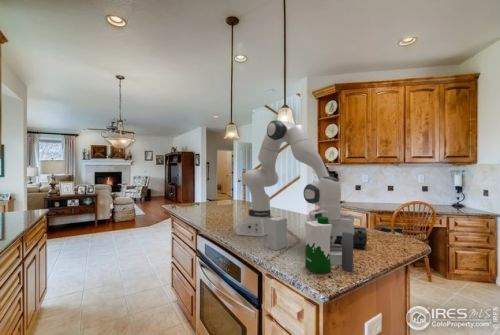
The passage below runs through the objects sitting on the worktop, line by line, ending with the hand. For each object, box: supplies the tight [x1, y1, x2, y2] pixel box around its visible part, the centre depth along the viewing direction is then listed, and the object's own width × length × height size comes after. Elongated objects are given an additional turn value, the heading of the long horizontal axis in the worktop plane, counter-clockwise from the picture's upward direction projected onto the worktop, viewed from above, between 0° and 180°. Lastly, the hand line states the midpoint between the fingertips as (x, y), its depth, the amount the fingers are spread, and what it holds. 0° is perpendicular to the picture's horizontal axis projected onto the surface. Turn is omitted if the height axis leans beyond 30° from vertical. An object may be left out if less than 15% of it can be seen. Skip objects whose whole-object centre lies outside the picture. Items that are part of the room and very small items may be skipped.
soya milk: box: [304, 217, 332, 274], centre depth 92 cm, size 9×9×20 cm
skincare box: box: [267, 215, 288, 251], centre depth 117 cm, size 8×6×15 cm
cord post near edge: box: [341, 232, 354, 273], centre depth 92 cm, size 4×4×14 cm
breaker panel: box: [330, 244, 342, 266], centre depth 104 cm, size 11×14×6 cm
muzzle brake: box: [335, 226, 368, 248], centre depth 123 cm, size 10×28×10 cm, turn 73°
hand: (329, 245), depth 103 cm, fingers closed
